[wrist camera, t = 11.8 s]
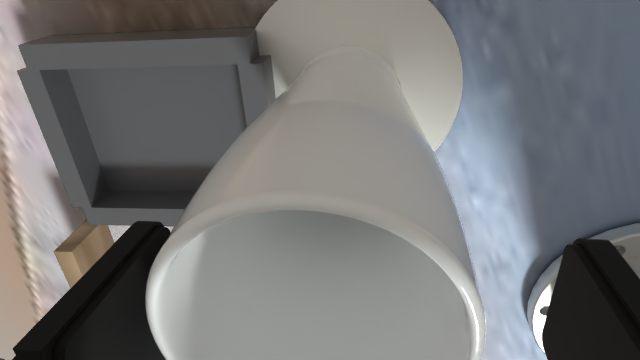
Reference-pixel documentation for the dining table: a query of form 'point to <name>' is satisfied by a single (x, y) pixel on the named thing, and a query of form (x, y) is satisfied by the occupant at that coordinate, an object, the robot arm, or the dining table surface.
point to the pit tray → (143, 113)
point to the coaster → (373, 49)
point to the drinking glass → (321, 235)
